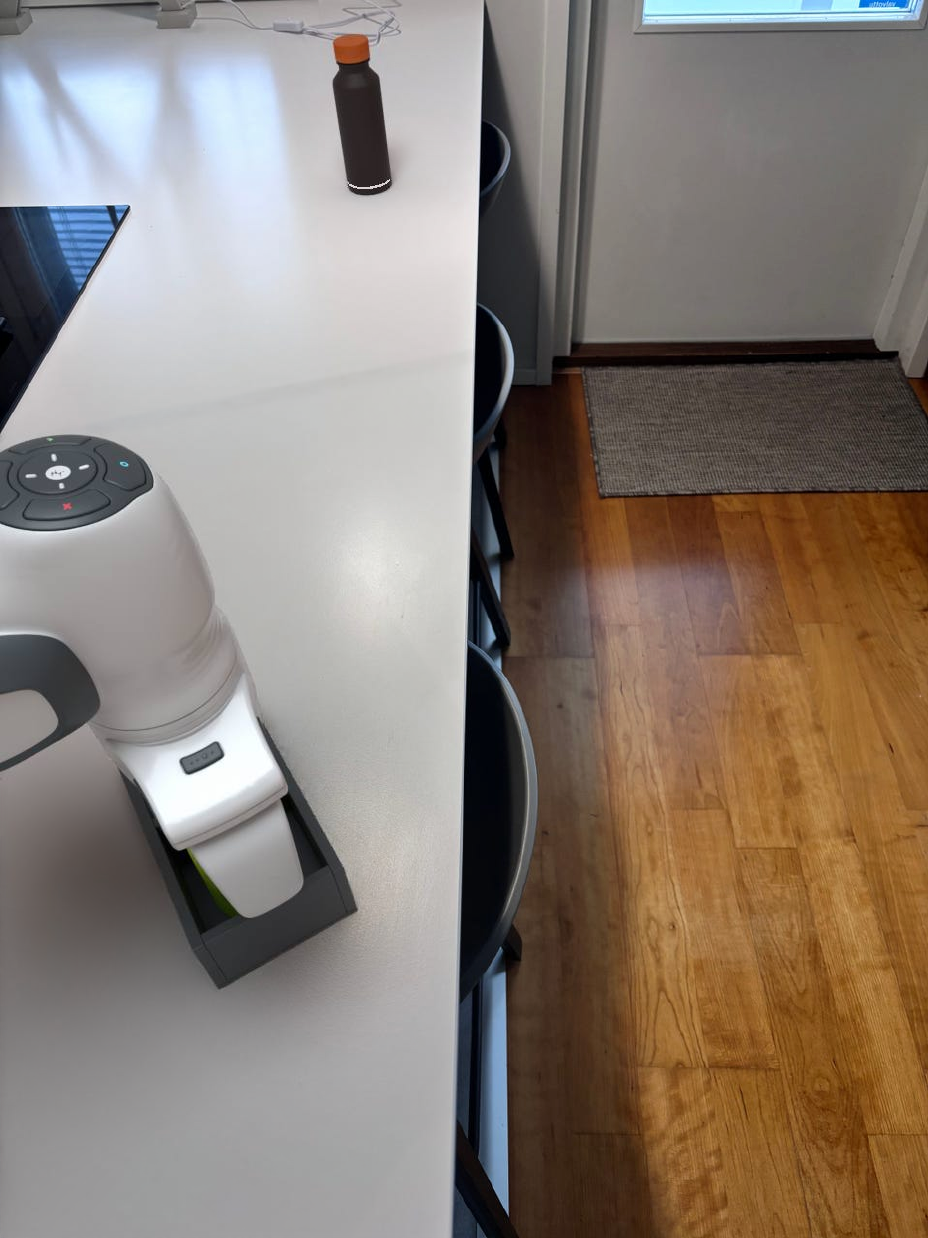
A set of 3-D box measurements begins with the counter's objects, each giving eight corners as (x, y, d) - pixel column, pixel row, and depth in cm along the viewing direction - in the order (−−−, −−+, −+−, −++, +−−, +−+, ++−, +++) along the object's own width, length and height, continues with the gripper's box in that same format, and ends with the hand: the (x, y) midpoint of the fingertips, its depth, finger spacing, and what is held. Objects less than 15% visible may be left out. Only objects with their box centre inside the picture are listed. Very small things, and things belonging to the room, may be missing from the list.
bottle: (344, 180, 147) (322, 35, 132) (387, 172, 148) (370, 28, 133) (351, 198, 143) (329, 51, 128) (395, 191, 144) (378, 43, 129)
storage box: (218, 990, 64) (192, 951, 59) (129, 773, 76) (100, 727, 72) (358, 910, 67) (344, 868, 63) (250, 714, 80) (231, 666, 75)
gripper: (64, 603, 57) (140, 733, 68) (178, 865, 45) (248, 974, 56) (163, 560, 59) (222, 693, 70) (297, 801, 47) (344, 918, 58)
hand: (235, 820), depth 63 cm, fingers open, 6 cm apart
